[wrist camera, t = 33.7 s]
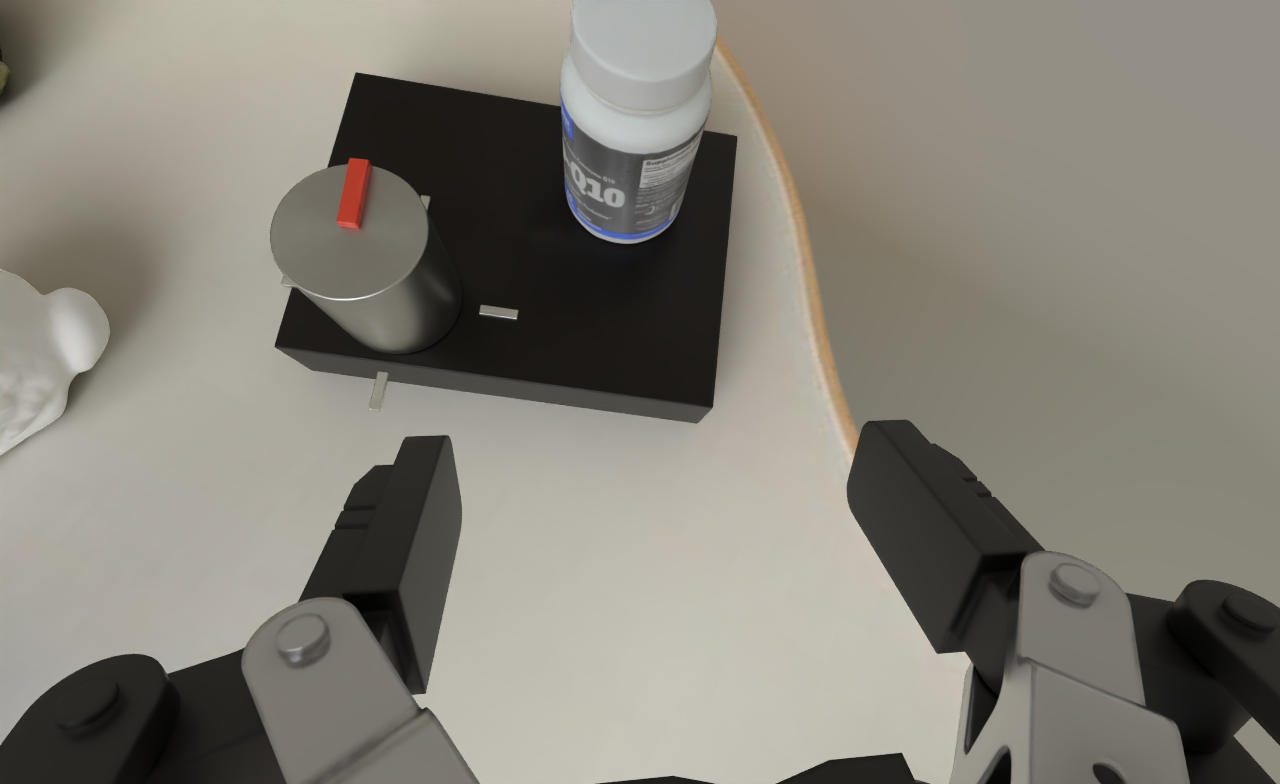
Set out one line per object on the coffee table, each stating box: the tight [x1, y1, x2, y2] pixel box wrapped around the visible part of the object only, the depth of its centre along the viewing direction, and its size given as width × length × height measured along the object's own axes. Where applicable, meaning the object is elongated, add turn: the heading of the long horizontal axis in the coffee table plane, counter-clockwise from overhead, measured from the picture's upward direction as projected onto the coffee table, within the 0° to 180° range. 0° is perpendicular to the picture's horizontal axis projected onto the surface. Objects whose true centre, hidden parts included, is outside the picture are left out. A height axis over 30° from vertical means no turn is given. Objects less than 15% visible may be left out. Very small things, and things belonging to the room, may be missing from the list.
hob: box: [275, 73, 737, 423], centre depth 24 cm, size 16×14×3 cm
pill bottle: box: [560, 0, 717, 244], centre depth 20 cm, size 5×5×8 cm
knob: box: [270, 158, 462, 354], centre depth 19 cm, size 4×4×5 cm
